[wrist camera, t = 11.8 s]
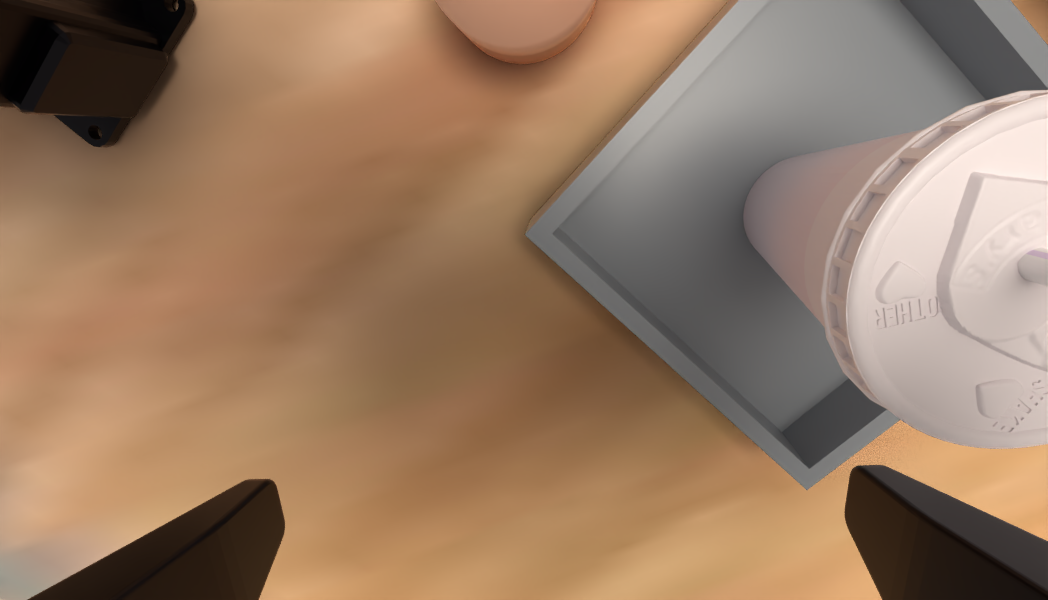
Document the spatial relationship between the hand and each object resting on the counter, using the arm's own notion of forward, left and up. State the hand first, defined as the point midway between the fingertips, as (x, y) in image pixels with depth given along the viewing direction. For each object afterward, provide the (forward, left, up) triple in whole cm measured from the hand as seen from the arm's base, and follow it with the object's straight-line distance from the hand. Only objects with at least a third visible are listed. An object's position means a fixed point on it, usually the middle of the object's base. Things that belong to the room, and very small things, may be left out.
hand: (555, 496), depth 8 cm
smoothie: (+4, +8, -12) cm, 15 cm away
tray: (+4, +8, -13) cm, 15 cm away
